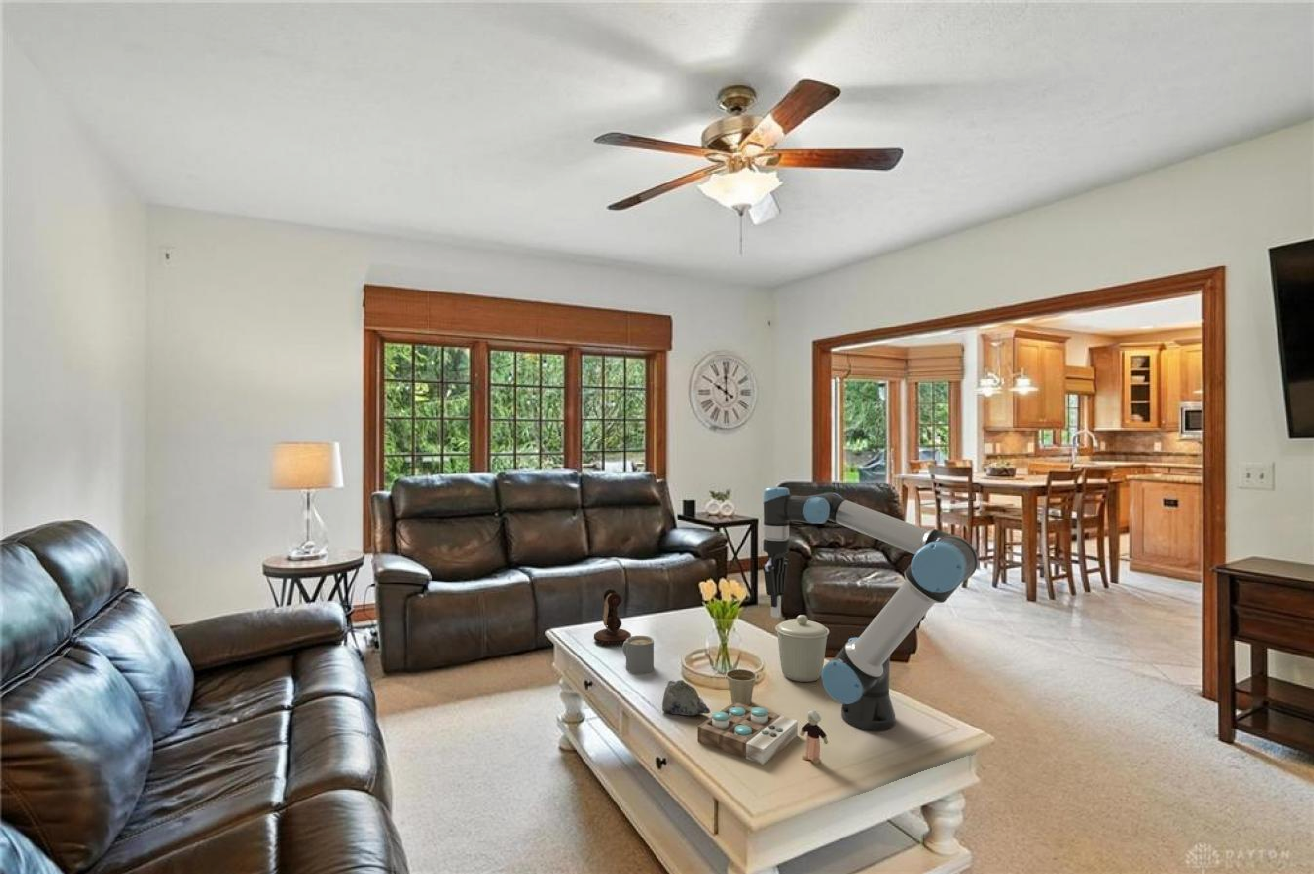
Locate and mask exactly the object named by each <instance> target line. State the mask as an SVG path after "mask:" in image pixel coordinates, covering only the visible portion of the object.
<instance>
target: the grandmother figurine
mask: <svg viewBox="0 0 1314 874" xmlns="http://www.w3.org/2000/svg"><path fill="white" fill-rule="evenodd" d="M807 718H808V720H807V723H806V724H804V725H803V726H802V727H801V731H800V734H799V735H800V736H801V737H804V736H805V733H806V739H805V754H803V755H802V757H801V758H802V759H803V760H804V761H810V762H811V763H812V764H815V765H818V764H819V763H820V762H821V759H820V752H821V741H820V740H821V739H822V740H823V743H824V744H825V745H827V744H828V743H829V741H828V737H827V736H828V735H827V734H826V732H825V731H824V730H823V728H821V727H820V726H819V725H818V724H819V723H820V722H821V721H822V719H821V715H820V714H819V713H818V712H817V711H816V710H808V712H807ZM820 738H821V739H820Z"/></svg>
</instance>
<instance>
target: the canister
mask: <svg viewBox="0 0 1314 874" xmlns="http://www.w3.org/2000/svg"><path fill="white" fill-rule="evenodd" d="M774 628H775V631H776V632H777V642H778V652H779V661H780V668H781V671H782V674H783V675H784V676H785V677H786V678H787V679H789V680H792V681H796V682H801V683H803V682H804V683H811V682H815V681H817V680H819V679H820V677H821V675H822V670H823V668H824V666H825V664H824V663H825V658H826V648H827V642H828V641H827V639H828V635H829V634H830V630H829V628H828V627H826V626H825V625H823V624H822V623H820V622H817V621H813V620H809V619H808V617H807V616H806V615H804V614H800V615H798V616H797V617H796V618H794V619H787V620H783V621H781V622H779V623H778V624H776V625H775V627H774Z"/></svg>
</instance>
